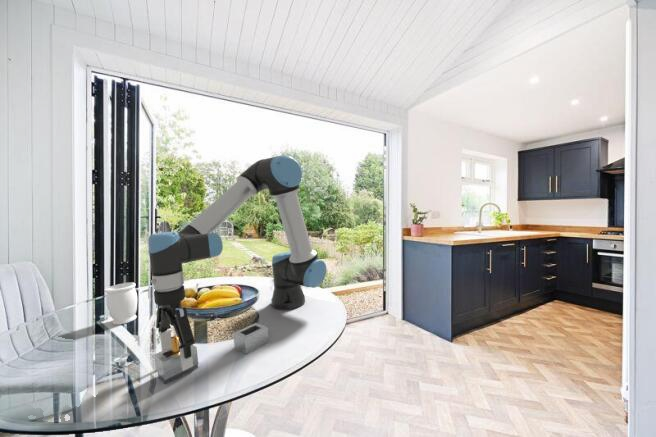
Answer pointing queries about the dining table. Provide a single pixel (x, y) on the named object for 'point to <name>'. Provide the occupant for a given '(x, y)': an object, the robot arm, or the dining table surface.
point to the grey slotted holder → (251, 337)
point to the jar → (122, 302)
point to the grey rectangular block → (171, 362)
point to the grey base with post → (175, 350)
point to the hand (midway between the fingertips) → (177, 359)
